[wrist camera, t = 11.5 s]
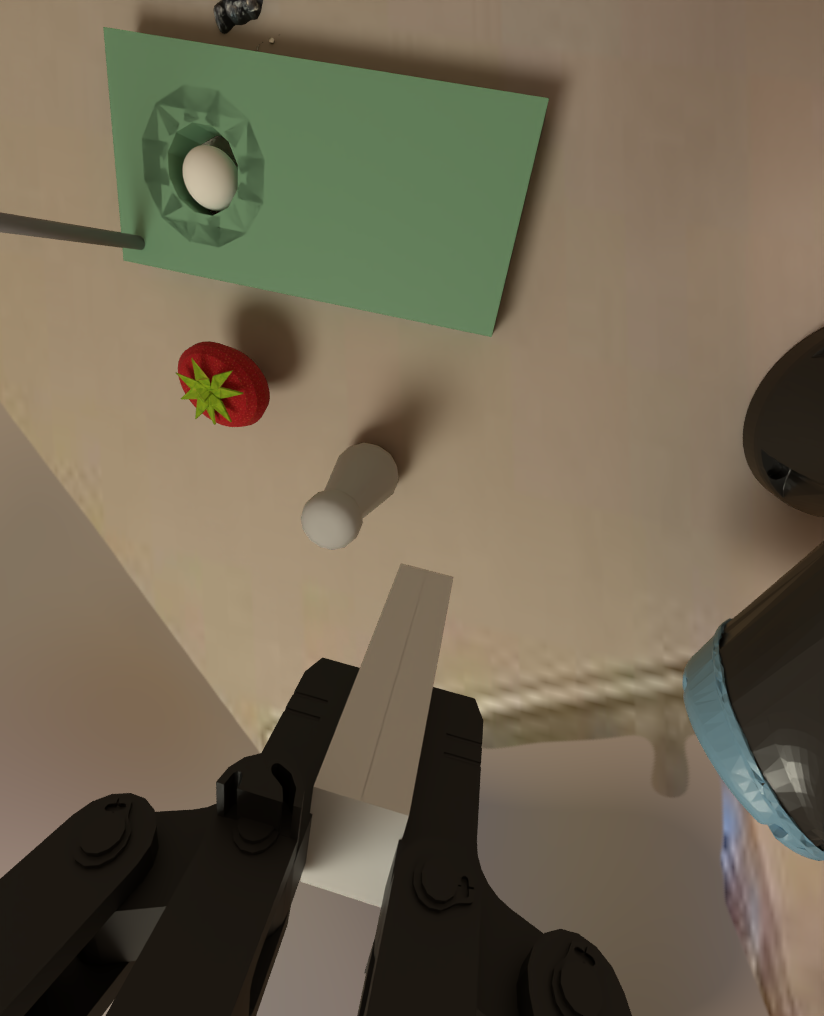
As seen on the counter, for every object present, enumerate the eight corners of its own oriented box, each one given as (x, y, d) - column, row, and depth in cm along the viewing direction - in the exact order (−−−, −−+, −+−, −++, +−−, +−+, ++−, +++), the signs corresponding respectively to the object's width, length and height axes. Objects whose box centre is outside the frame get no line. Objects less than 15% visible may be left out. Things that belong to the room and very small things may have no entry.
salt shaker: (354, 426, 43) (297, 475, 31) (412, 450, 42) (377, 509, 31) (336, 480, 45) (278, 544, 33) (390, 503, 45) (351, 575, 33)
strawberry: (239, 319, 40) (163, 326, 31) (306, 380, 42) (251, 403, 33) (207, 370, 43) (129, 390, 34) (271, 426, 44) (211, 459, 35)
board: (545, 115, 31) (605, -163, 12) (492, 334, 37) (479, 372, 18) (135, 48, 34) (-333, -265, 15) (149, 262, 40) (-169, 232, 21)
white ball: (174, 154, 31) (177, 133, 33) (188, 219, 34) (191, 195, 37) (236, 159, 32) (236, 138, 34) (245, 221, 35) (244, 198, 38)
